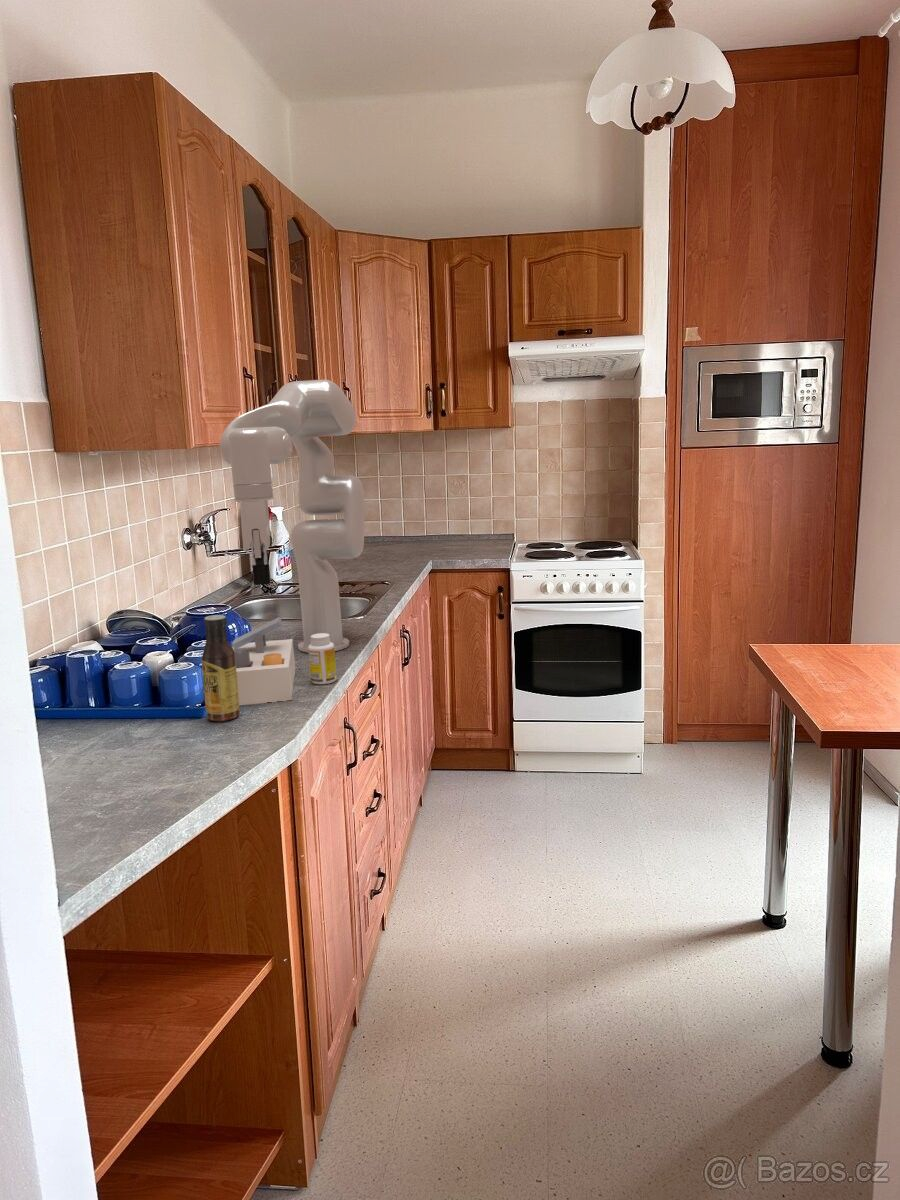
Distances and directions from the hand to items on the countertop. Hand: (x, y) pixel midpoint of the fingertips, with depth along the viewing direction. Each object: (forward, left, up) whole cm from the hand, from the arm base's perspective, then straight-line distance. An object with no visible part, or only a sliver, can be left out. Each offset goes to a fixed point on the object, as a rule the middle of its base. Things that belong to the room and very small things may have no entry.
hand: (262, 583), depth 179 cm
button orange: (+1, +1, -22) cm, 22 cm away
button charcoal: (+1, -6, -21) cm, 22 cm away
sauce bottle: (+13, -9, -23) cm, 28 cm away
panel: (-6, -3, -23) cm, 24 cm away
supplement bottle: (-6, +10, -24) cm, 26 cm away
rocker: (-11, -3, -14) cm, 18 cm away
